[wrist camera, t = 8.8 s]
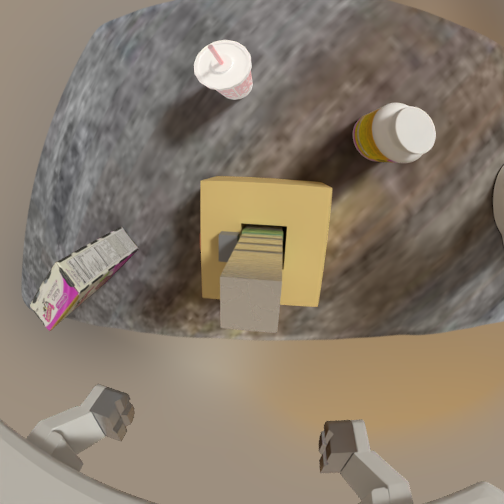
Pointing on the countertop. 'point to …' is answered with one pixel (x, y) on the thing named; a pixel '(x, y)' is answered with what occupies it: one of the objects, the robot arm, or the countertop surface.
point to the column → (253, 280)
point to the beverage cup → (225, 68)
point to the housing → (267, 213)
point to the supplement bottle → (394, 134)
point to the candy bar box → (81, 276)
